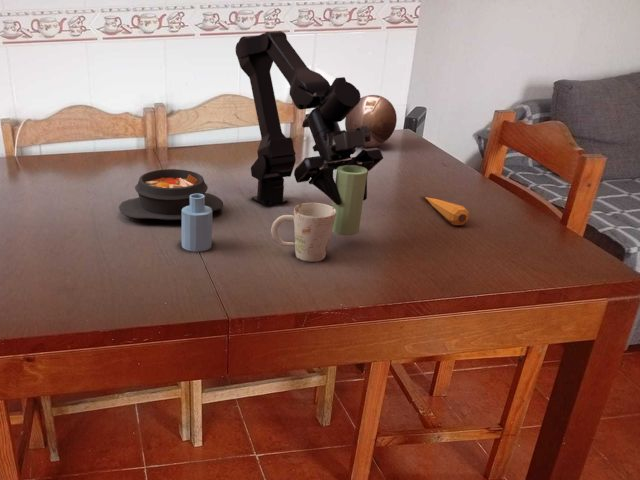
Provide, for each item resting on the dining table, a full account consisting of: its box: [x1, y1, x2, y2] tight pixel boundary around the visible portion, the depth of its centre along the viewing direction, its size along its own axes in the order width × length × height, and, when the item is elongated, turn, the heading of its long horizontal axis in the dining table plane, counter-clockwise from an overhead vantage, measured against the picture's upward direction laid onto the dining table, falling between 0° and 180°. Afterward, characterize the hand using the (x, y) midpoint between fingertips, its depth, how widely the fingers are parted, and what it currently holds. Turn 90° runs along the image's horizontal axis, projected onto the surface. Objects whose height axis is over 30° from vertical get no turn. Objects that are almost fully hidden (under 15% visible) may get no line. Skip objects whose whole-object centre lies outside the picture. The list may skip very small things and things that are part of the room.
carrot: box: [424, 196, 470, 226], centre depth 165 cm, size 20×4×4 cm, turn 6°
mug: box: [270, 202, 336, 263], centre depth 142 cm, size 8×13×10 cm, turn 78°
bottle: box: [181, 194, 213, 253], centre depth 146 cm, size 6×6×11 cm
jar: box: [331, 165, 369, 236], centre depth 144 cm, size 6×6×13 cm
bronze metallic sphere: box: [344, 94, 398, 148], centre depth 210 cm, size 15×15×15 cm
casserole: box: [118, 168, 224, 222], centre depth 164 cm, size 25×19×8 cm
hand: (352, 201), depth 143 cm, fingers closed on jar, 6 cm apart
